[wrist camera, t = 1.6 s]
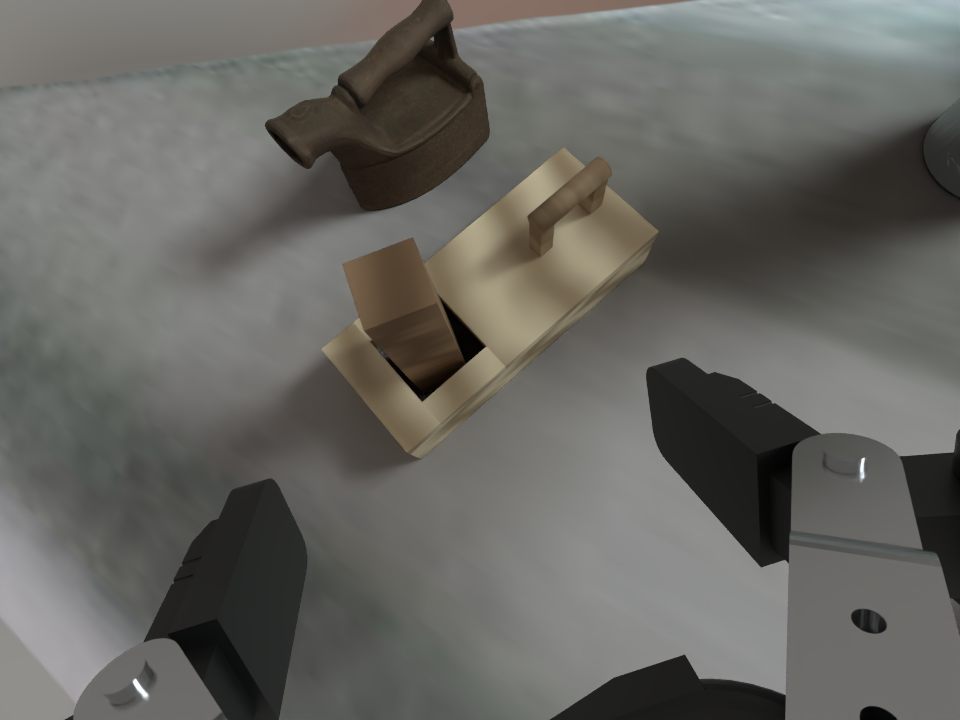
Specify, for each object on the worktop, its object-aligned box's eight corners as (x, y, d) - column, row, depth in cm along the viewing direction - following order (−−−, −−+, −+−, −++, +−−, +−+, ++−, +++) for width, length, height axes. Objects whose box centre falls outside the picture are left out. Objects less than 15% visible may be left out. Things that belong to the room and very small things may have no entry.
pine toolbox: (560, 184, 47) (567, 102, 37) (644, 261, 44) (676, 194, 35) (343, 366, 44) (293, 328, 35) (421, 459, 42) (389, 445, 32)
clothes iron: (311, 203, 49) (231, 94, 36) (433, 87, 51) (400, -56, 38) (371, 256, 47) (309, 161, 34) (496, 133, 49) (483, -1, 36)
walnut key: (453, 331, 44) (412, 237, 29) (470, 375, 43) (437, 302, 28) (407, 348, 44) (342, 264, 29) (423, 393, 43) (363, 330, 28)
